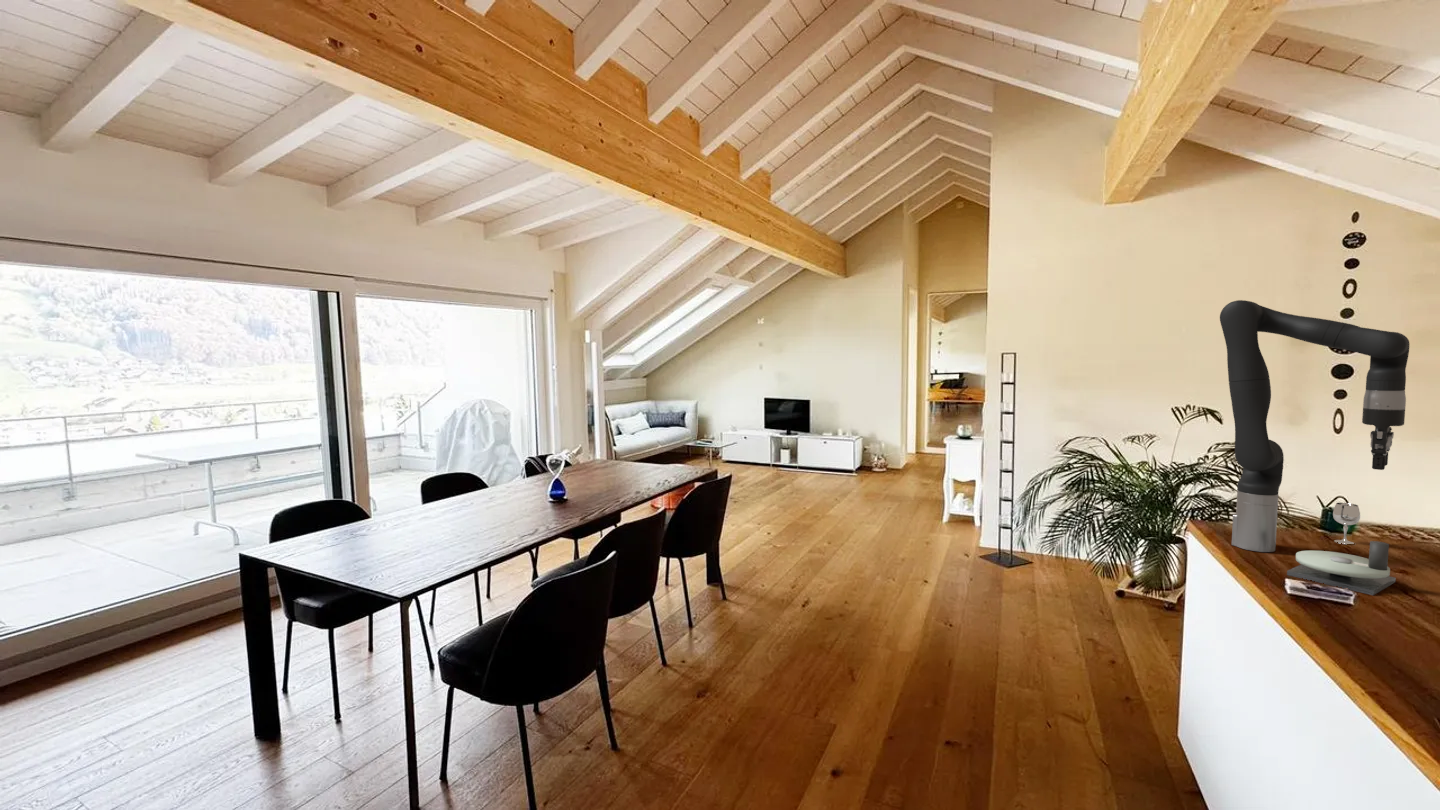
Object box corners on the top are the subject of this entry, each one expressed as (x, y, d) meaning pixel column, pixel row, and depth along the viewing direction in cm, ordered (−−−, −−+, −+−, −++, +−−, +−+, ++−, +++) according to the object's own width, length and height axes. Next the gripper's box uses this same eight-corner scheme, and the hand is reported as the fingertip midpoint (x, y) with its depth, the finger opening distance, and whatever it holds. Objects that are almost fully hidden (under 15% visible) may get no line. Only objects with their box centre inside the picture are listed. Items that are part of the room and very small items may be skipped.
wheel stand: (1287, 574, 159) (1287, 564, 159) (1311, 563, 166) (1311, 553, 166) (1373, 595, 145) (1373, 583, 145) (1395, 582, 152) (1396, 570, 152)
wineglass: (1363, 545, 180) (1366, 507, 179) (1341, 545, 181) (1343, 506, 180) (1348, 540, 186) (1350, 502, 185) (1326, 539, 187) (1328, 501, 186)
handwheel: (1286, 563, 158) (1288, 534, 157) (1306, 551, 167) (1307, 523, 166) (1380, 583, 144) (1383, 551, 143) (1396, 568, 153) (1398, 538, 152)
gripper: (1403, 410, 151) (1398, 473, 152) (1407, 406, 159) (1402, 465, 161) (1360, 408, 156) (1356, 469, 158) (1366, 404, 165) (1362, 462, 167)
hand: (1379, 467), depth 159 cm, fingers open, 8 cm apart
